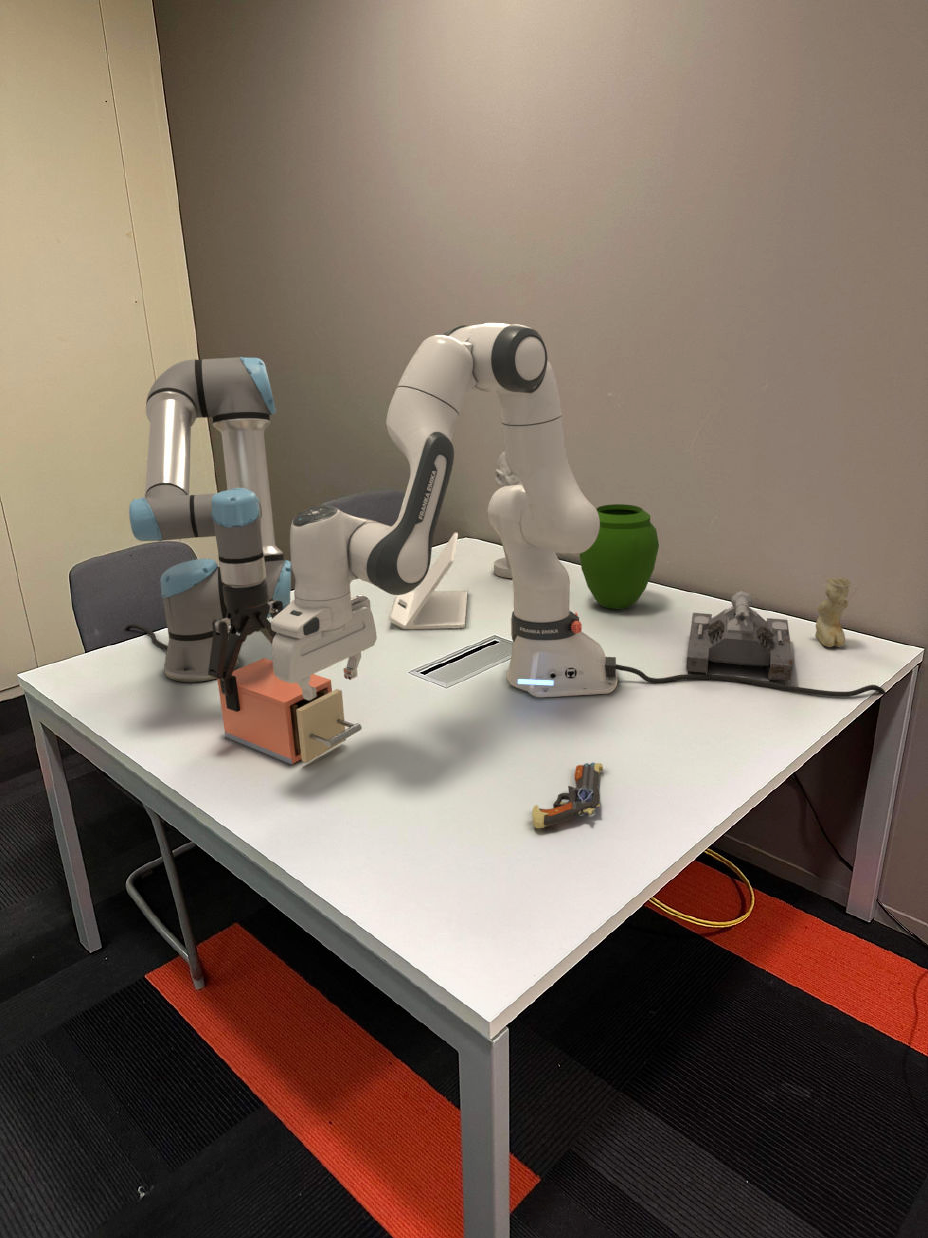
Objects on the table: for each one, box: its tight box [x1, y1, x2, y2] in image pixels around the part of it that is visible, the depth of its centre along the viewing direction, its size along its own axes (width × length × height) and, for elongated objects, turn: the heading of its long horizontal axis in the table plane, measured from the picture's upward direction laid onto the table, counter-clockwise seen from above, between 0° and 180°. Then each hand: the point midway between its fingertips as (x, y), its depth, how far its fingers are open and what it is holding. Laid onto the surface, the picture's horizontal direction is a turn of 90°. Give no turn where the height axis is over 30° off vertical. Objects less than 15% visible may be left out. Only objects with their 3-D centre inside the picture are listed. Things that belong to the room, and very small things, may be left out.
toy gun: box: [531, 762, 604, 829], centre depth 132 cm, size 3×19×10 cm
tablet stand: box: [388, 531, 468, 630], centre depth 211 cm, size 18×25×17 cm
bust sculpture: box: [485, 450, 522, 579], centre depth 231 cm, size 16×24×35 cm
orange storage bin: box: [216, 657, 333, 766], centre depth 152 cm, size 18×11×12 cm, turn 53°
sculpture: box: [814, 576, 852, 648], centre depth 185 cm, size 6×7×15 cm
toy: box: [685, 591, 794, 683], centre depth 178 cm, size 25×20×15 cm
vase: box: [578, 503, 660, 610], centre depth 210 cm, size 20×20×24 cm
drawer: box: [290, 688, 363, 764], centre depth 148 cm, size 21×10×10 cm, turn 53°
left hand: (259, 697), depth 154 cm, fingers closed on orange storage bin, 11 cm apart
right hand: (330, 687), depth 141 cm, fingers open, 8 cm apart
